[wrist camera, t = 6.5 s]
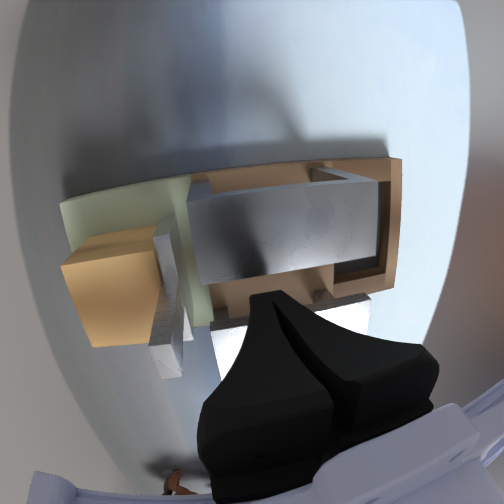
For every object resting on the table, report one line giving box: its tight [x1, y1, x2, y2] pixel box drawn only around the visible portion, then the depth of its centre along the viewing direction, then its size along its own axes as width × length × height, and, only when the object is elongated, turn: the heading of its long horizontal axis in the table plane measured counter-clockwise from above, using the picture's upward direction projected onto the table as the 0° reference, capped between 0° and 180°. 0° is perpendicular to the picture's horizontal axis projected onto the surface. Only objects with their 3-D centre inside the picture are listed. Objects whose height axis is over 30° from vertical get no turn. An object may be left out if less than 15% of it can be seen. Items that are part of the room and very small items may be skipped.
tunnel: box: [186, 166, 378, 380], centre depth 16 cm, size 9×8×6 cm
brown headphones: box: [162, 470, 197, 495], centre depth 29 cm, size 12×10×8 cm
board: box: [59, 157, 402, 327], centre depth 19 cm, size 10×22×2 cm, turn 95°
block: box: [61, 225, 162, 347], centre depth 15 cm, size 5×5×4 cm
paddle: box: [148, 214, 194, 379], centre depth 13 cm, size 6×1×9 cm, turn 5°
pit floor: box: [334, 181, 382, 276], centre depth 20 cm, size 7×4×1 cm, turn 5°
